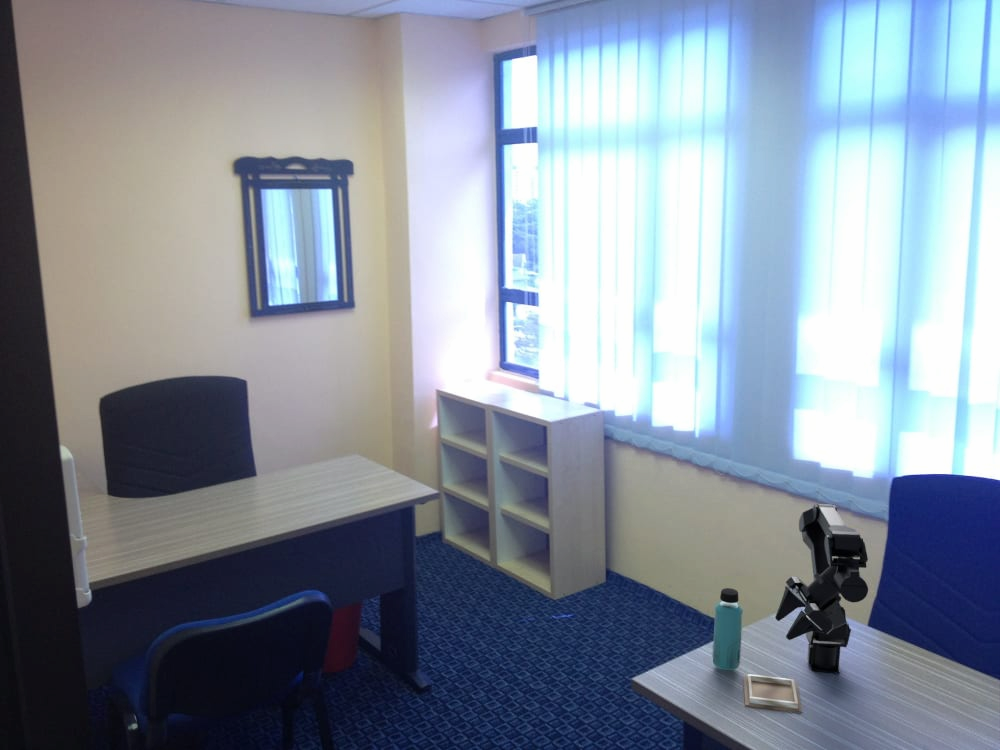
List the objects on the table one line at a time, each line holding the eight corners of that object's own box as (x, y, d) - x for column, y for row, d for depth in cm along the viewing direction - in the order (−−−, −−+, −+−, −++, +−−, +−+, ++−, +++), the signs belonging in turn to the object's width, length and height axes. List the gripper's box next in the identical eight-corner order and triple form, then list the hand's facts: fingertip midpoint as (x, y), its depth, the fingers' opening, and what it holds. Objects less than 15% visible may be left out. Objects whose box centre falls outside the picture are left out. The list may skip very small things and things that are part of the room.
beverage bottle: (740, 677, 211) (745, 598, 207) (711, 674, 212) (716, 595, 208) (739, 663, 217) (744, 586, 213) (710, 660, 218) (715, 583, 214)
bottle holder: (797, 684, 208) (797, 677, 208) (802, 713, 197) (802, 706, 196) (743, 677, 211) (743, 671, 210) (745, 706, 199) (745, 699, 199)
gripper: (872, 624, 195) (819, 672, 197) (843, 587, 213) (795, 632, 216) (836, 591, 194) (783, 639, 196) (810, 557, 212) (762, 602, 215)
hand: (781, 628), depth 206 cm, fingers open, 9 cm apart
